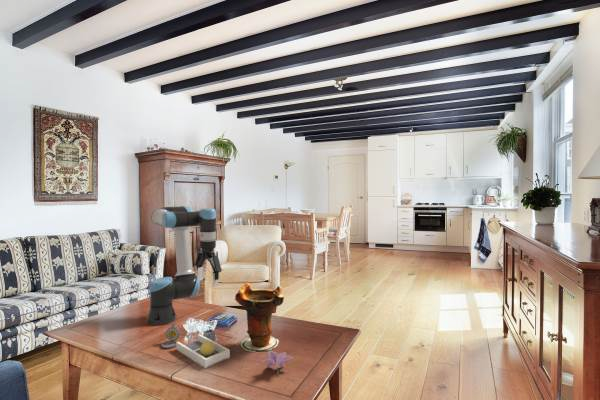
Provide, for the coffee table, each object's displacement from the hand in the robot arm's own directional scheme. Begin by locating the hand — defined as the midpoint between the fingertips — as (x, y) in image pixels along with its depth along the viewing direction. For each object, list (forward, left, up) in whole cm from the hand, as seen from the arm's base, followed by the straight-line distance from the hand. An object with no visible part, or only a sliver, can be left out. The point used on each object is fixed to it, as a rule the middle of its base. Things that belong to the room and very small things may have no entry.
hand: (207, 283), depth 164 cm
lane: (+12, -10, -27) cm, 32 cm away
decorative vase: (+23, +14, -28) cm, 38 cm away
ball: (+16, -10, -27) cm, 33 cm away
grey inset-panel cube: (+2, 0, -27) cm, 27 cm away
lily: (+47, +2, -28) cm, 55 cm away
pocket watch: (-7, -16, -28) cm, 32 cm away
